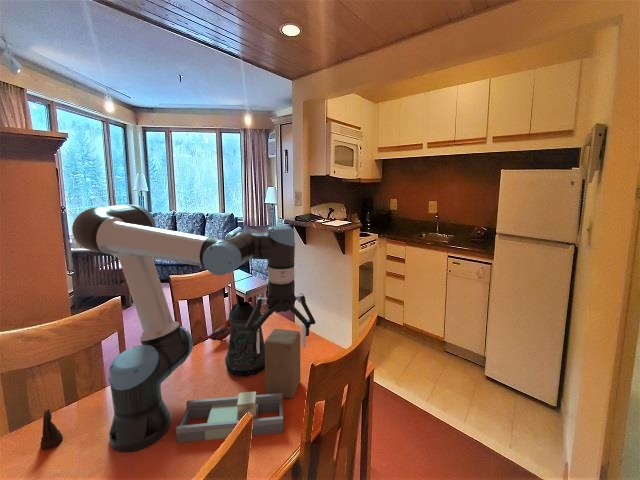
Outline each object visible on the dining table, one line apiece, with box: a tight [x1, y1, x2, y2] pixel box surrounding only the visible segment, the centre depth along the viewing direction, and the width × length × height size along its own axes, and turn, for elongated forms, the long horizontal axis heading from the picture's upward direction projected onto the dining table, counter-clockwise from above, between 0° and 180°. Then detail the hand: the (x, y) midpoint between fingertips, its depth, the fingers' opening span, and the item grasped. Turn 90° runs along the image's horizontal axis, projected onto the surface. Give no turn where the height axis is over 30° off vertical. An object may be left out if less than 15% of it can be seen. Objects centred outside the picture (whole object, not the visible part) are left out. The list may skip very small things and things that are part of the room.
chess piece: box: [40, 407, 64, 451], centre depth 83 cm, size 5×5×10 cm
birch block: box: [237, 391, 257, 420], centre depth 91 cm, size 5×5×5 cm
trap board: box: [175, 393, 284, 444], centre depth 91 cm, size 29×11×4 cm, turn 98°
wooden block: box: [264, 328, 301, 399], centre depth 105 cm, size 10×10×20 cm
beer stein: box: [224, 301, 265, 378], centre depth 119 cm, size 16×19×25 cm
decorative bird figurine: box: [199, 318, 231, 344], centre depth 135 cm, size 3×18×10 cm, turn 139°
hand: (281, 348), depth 92 cm, fingers open, 13 cm apart
